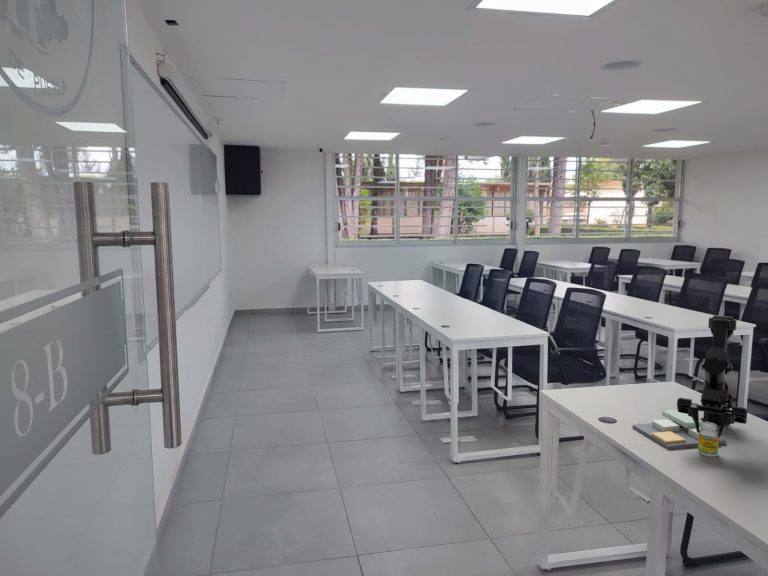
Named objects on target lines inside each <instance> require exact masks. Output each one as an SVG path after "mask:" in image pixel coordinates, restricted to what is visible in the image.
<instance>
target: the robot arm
mask: <svg viewBox="0 0 768 576" xmlns="http://www.w3.org/2000/svg"><path fill="white" fill-rule="evenodd" d="M708 329H710V333H711V335H712V340H711V347H710V349H709V350H708V351H707V352H706V355H705V358H703V359H702V361H701V362H702V363H701V370H703V378H704V380H703V387H702V393H701V397H700V403H701V404H698V403H696V402H693V399H692V398H687V397H686V398H684V397H678V398H677V402H676V406H677V407H676V410H678V412H680V413H685V414H687V415H688V416H690V417H692V419H693V421H694V423H695V427H696V430H697V433H699V419H700V421H702V422H711V423H715V424H716V425H717V426H719V429H718V433H719V436H718V437H720V438H722V435H723V433H724V432H725V431H726V429H727V428H728V427H729V426H730V425H734V424H735V423H738V424H743V425H745V424H747V419H748V409H747V408H746V407H741V406H735V405H733V404H734V403H733V399H734V397H733V396H732V393H731V392H729V385H728V383H727V382H726V377H725V376H726V375H728V374H730V372H732V370H733V365H732V363H731V361H729V354H728V353H727V351H728V342H729V341H730V339H731V338H732V337H733V335H734V331H736V330H737V319H734V317H733V316H732V315H731V316H729V315H728V316H727V315H717V314H713V316H712V317H708ZM699 412H703V417H701V418H699V415H700V414H699Z"/></svg>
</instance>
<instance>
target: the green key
mask: <svg viewBox="0 0 768 576" xmlns="http://www.w3.org/2000/svg"><path fill="white" fill-rule="evenodd" d="M661 415H662V417H664V418H665V419H666V418H667V419H668V420H670V421H674V422H675V423H677V424H679V425H681V426H680V427H682V428H696V427H695V423H694V421H693V419H692V417H690V416H688V414H685V413H680V412H678V409H669V410H668V409H667V410H662V414H661ZM702 422H703V420H701V419H700V420H699V427H700V428H702Z"/></svg>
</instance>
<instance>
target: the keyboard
mask: <svg viewBox="0 0 768 576" xmlns="http://www.w3.org/2000/svg"><path fill="white" fill-rule="evenodd" d="M701 428H702V427H699V430H700V429H701ZM632 429H634V430H635V431H637V432H639V433H640V434H641V435H644V436H645V437H647V438H648V439H650V440H652V441H653V442H655V443H657V444H659V446H662V447H663V448H665V449H666V450H674V449H677V450H678V449H688V448H698V441H699V433H697V430H696V428H685V427H682V426H681V425H679V424H677V423H675V422H674V421H672V420H670V419H668V418H667V419H666V418H665V419H655V420H653V419H652V420H651V422H650V423H649V422H648V423H635V424H632ZM726 444H727V440H726V439H724V438H722V437H719V444H718V446H719V445H726Z"/></svg>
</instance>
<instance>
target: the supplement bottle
mask: <svg viewBox="0 0 768 576" xmlns="http://www.w3.org/2000/svg"><path fill="white" fill-rule="evenodd" d="M700 428H701V429H700V430H699V441H698V447H697V451H698V453H699V454H701V455H702V456H705V457H709V458H711V457H712V458H713V457H716V456H718V455H719V445H718V444H719V437H718V436H719V430H717V429H718V425H716V424H715V423H711V422H705V421H702V427H700Z"/></svg>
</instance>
